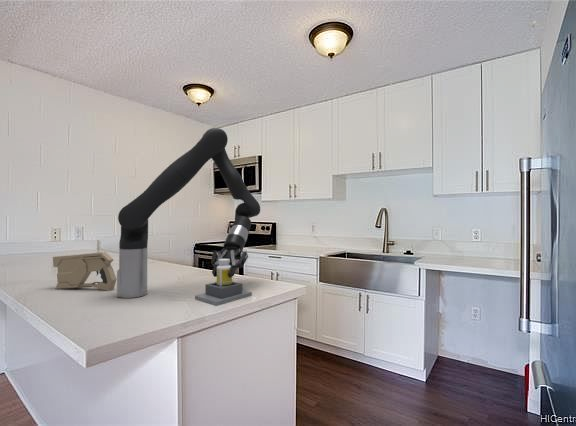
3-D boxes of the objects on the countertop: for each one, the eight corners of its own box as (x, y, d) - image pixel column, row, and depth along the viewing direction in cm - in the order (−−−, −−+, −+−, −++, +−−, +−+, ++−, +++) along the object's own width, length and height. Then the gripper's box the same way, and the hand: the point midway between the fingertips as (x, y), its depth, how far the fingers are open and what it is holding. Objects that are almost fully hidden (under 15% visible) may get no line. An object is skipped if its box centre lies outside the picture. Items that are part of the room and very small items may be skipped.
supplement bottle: (234, 285, 110) (234, 258, 110) (227, 289, 105) (226, 261, 105) (221, 284, 112) (221, 257, 112) (213, 287, 107) (213, 260, 107)
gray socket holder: (216, 305, 98) (216, 291, 98) (194, 299, 106) (194, 285, 106) (251, 295, 111) (251, 282, 111) (230, 290, 118) (230, 278, 118)
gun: (118, 288, 119) (114, 251, 119) (112, 291, 116) (109, 252, 116) (61, 292, 122) (58, 255, 122) (54, 294, 118) (51, 256, 118)
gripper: (216, 232, 117) (199, 269, 106) (250, 233, 113) (237, 271, 102) (223, 244, 122) (207, 280, 111) (256, 245, 119) (243, 283, 107)
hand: (221, 275), depth 107 cm, fingers closed on supplement bottle, 5 cm apart
